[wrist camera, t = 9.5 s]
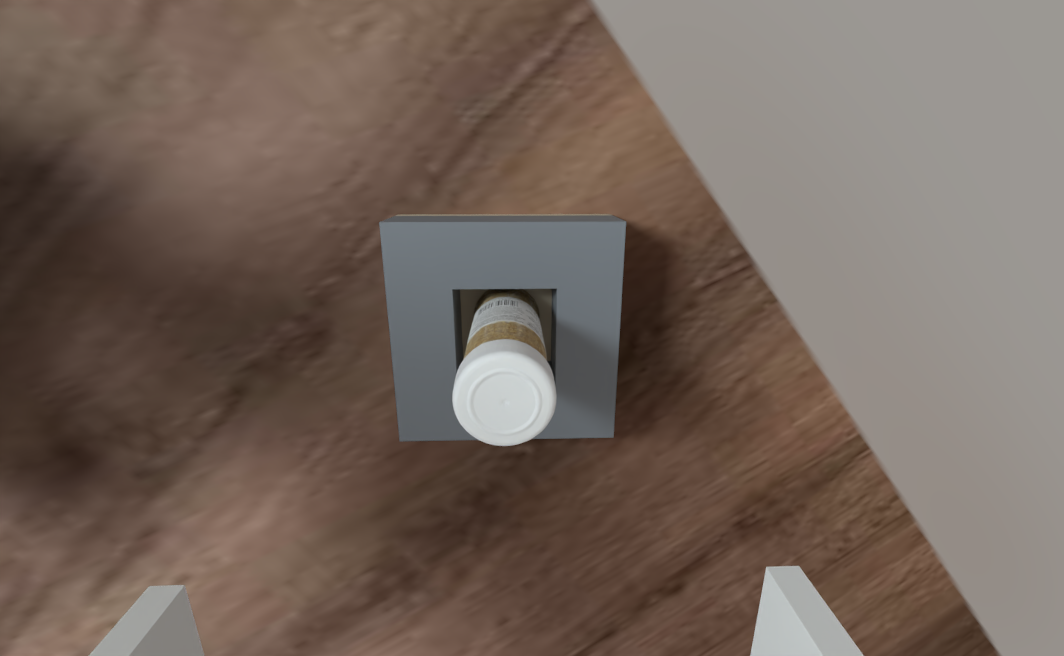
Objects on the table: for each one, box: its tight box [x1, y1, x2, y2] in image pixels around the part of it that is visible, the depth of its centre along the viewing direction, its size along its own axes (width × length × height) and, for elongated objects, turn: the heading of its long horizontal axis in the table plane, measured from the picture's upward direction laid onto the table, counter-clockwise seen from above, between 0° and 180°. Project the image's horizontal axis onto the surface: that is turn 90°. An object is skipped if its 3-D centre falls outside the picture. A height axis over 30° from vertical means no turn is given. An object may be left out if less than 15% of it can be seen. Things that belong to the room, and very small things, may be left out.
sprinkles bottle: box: [452, 289, 557, 446], centre depth 27 cm, size 5×5×13 cm
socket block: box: [379, 214, 626, 441], centre depth 32 cm, size 14×14×5 cm
